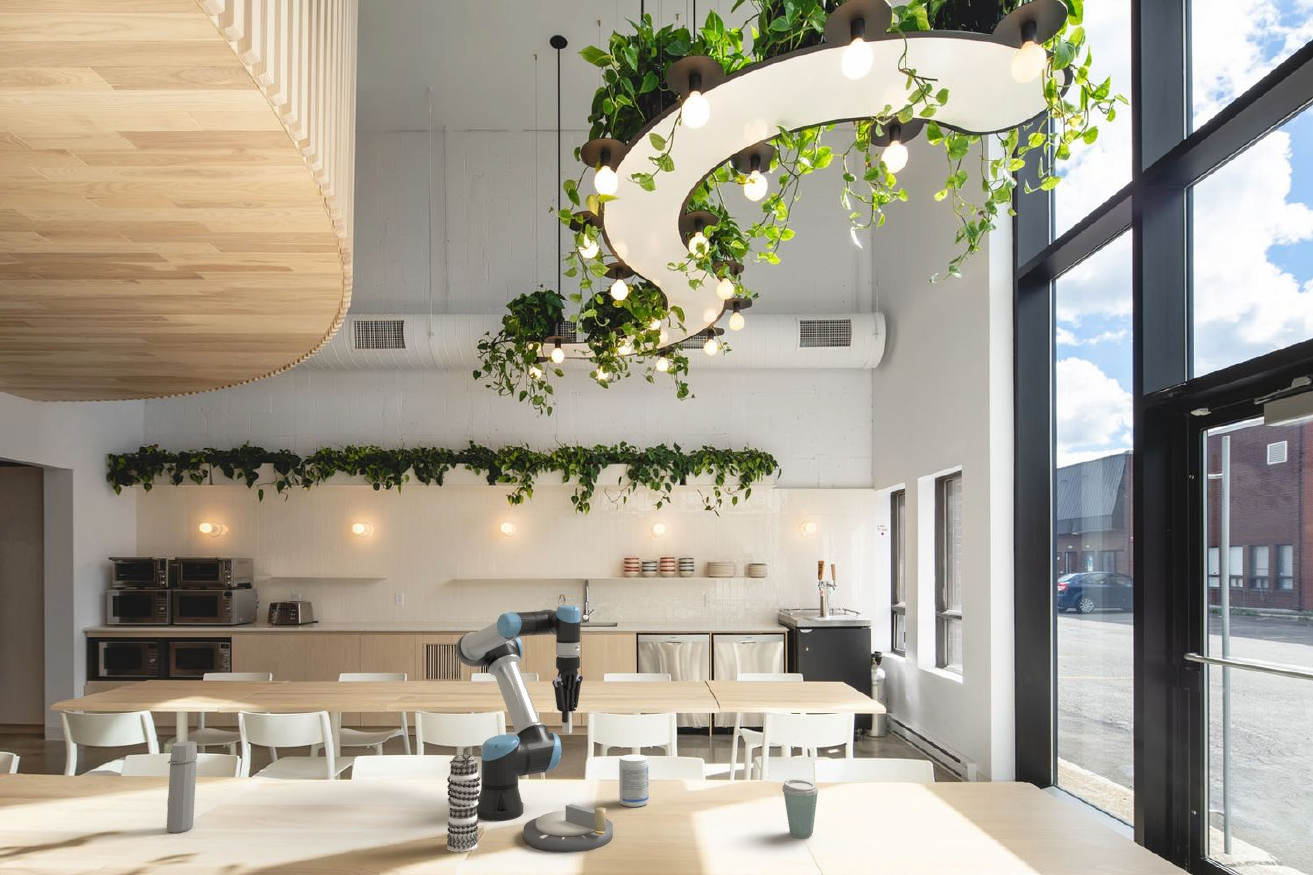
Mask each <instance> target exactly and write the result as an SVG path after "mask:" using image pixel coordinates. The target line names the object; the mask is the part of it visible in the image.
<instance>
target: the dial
mask: <svg viewBox="0 0 1313 875" xmlns="http://www.w3.org/2000/svg"><path fill="white" fill-rule="evenodd" d="M536 818H537V819H536V829H537V830H538V831H539V832H541V833H544V834H548V835H553V836H578V835H584V834H588V833H592V832H594V831H598V832H602V831H605V830H606V819H607V808H605V807H596V808H594V809H592V808H587V807H584V806H581V805H578V804H574V803H570V804H567V805H565V810H557V811H552V812H548V813H545V814H542V815H540V816H538V817H536Z"/></svg>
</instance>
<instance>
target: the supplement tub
mask: <svg viewBox="0 0 1313 875" xmlns="http://www.w3.org/2000/svg"><path fill="white" fill-rule="evenodd" d="M618 762H619V763H618V764H619V765H618V766H619V768H618V771H619V803H620V804H621V805H623V806H624V807H630V808H636V807H642V806H645V805H647V804H649V802H650V801H649V798H650V797H649V759H648V756H646V755H644V754H626V755H622V756H620V757H619V761H618Z"/></svg>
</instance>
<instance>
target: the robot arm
mask: <svg viewBox="0 0 1313 875" xmlns="http://www.w3.org/2000/svg"><path fill="white" fill-rule="evenodd" d="M581 621H582V618H581V609H580V607H579V606H578V605H559V606H557V607H556V610H554V609H542V610H537V611H536V610H535V611H523V612H517V611H516V612H513V611H511V612H507V613H501V614H499V617H498V618H497V621H496V622H494V623H492V624H490V625H487V626H486V627H484V628H482V629H479V630H478V631H470V632H468V633H466V634H464V635H462V636H461V637H459V638H458V641H457V642H456V645H455V654H456V656H457V658H458V660H459V661H460V662H461V663H462V664H463V665H466V666H468V667H472V668H475V667H476V668H477V667H487V670H488V672H489V674H490V675H491V676H493V677H495V680H496V682H497V684H498V687H499V690H500V692H501V695H502V699H503V702H504V704H505V706H506V710H507V712H508V715H509V718H510V720H511V723H512V725H513V728H514V731H515V734H514V733H508V734H499V735H494V736H493V737H490V738H488V739H486V740H485V741H484V742H483V744H482V748H481V755H480V757H481V774H480V782H481V783H480V790H479V793H478V794H479V795H478V796H479V799H477V801H478V805H477V811H476V812H477V819H480V820H484V821H497V822H498V821H507V820H512V819H516V818H518V817H520V816H522V815H523V814H524V803H523V801H522V798H521V797H522V796H521V793H520V789H519V778H520V777H522V776H528V775H535V774H539V773H546V772H550V771H553V770H555V769H556V768H557V767H558V765H559V764H560V761H561V757H562V744H561V738H560V737H559V735H558V734H557V733H555V732H550V731H549V729H548V726H547V725H546V724H545V723H543V722H541V721H540V718H539V716H538V714H537V711H536V707H535V705H534V702H533V700H532V698H531V695H530V692H529V690H528V687H527V684H526V682H525V680H524V677H523V675H522V672H521V669H520V667H519V666H520V665H521V661H522V658H523V653H524V651H523V650H524V649H523V643H522V641H521V639H520V638H521V637H527V636H528V637H529V636H543V635H556V636H555V637H556V640H555V641H556V642H555V655H556V658H555V668H556V669H557V670H558V673H557V678H556V679H554V680H552V682H551V684H552V686H553V688H554V695H555V702H556V710H557V711H559V712H561V722H562V723H561V724H562V726H561V727H562V728H561V730H562V732H561V733H562V734H572V733H573V720H574V719H573V718H574V715H573V714H574V712H576V711H577V708H578V706H579V705H578V704H579V699H580V693H581V692H580V691H581V685H582V681H583V678H584V677H583V676H582V675H579V671H578V669H580V667H581V657H580V656H579V655H581Z"/></svg>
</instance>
